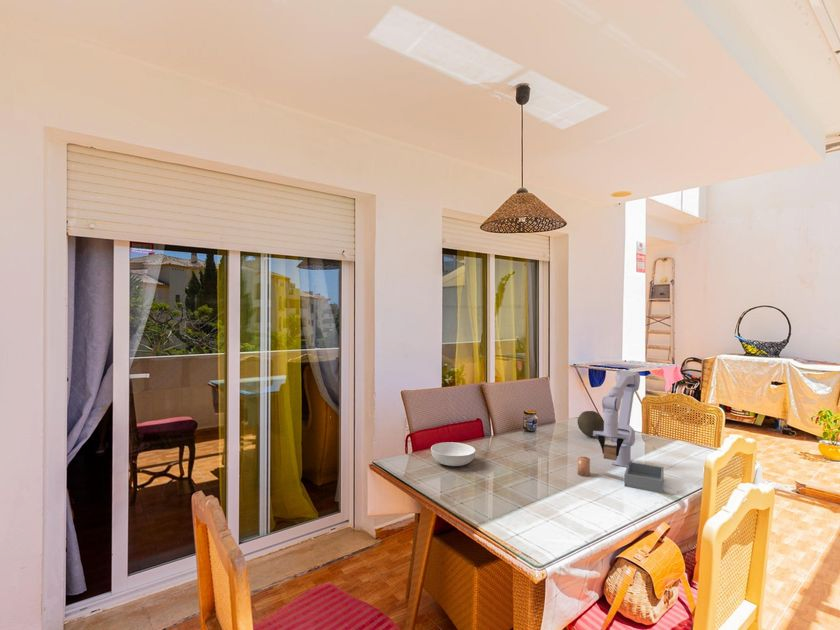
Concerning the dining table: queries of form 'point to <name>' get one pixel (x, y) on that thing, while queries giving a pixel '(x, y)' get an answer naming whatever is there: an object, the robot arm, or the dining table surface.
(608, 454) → the walnut block
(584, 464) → the terracotta cylinder
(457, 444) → the serving bowl
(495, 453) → the dining table surface
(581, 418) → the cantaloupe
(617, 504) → the dining table surface
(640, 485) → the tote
